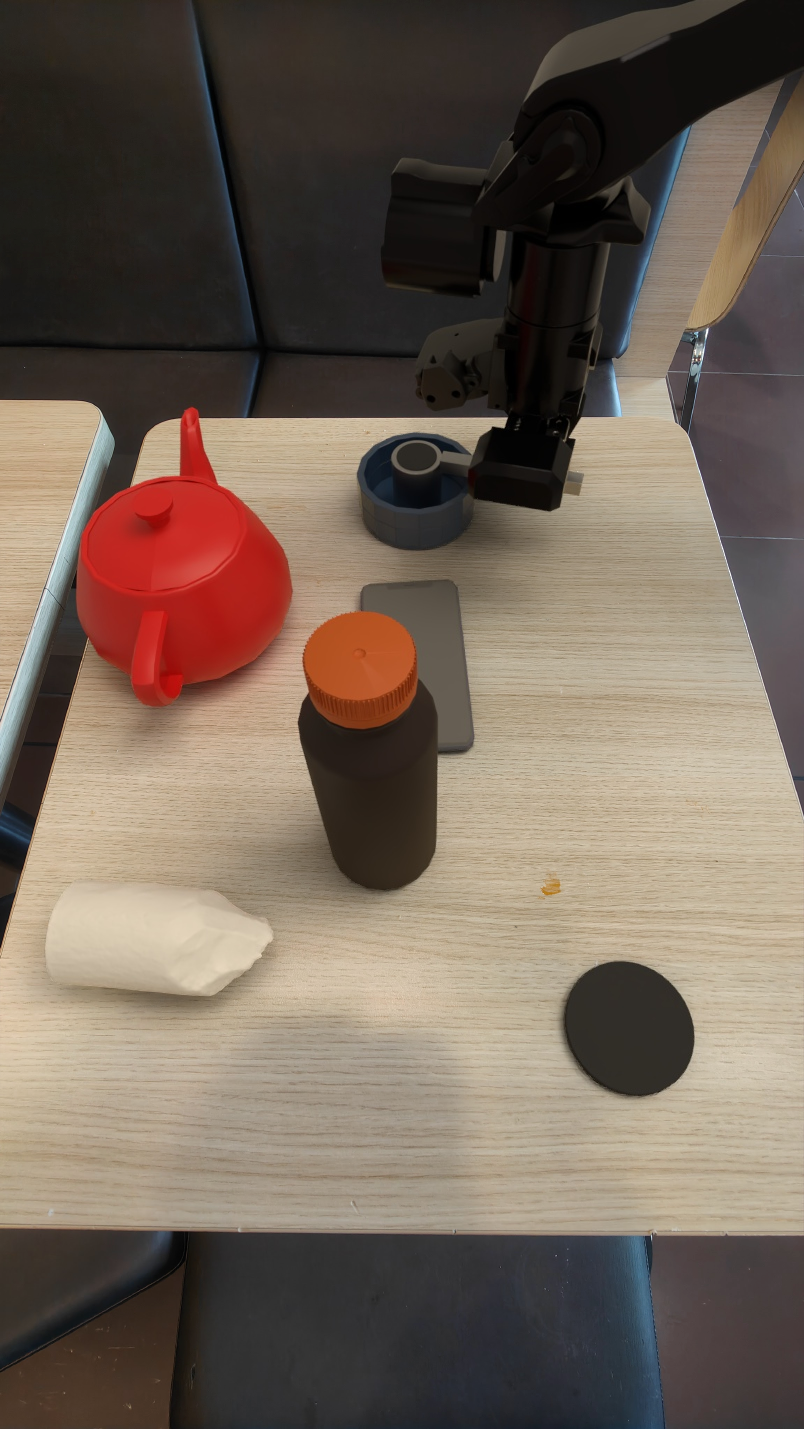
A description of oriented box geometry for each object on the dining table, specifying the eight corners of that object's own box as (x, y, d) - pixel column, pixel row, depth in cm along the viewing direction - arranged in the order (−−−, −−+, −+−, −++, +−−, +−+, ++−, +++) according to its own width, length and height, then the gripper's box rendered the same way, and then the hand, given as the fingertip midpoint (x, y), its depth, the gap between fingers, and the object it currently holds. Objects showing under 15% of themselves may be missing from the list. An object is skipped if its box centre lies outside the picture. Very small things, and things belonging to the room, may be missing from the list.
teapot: (287, 750, 54) (254, 642, 44) (64, 754, 54) (-21, 648, 44) (309, 498, 67) (288, 370, 57) (130, 503, 68) (77, 376, 57)
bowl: (458, 462, 69) (459, 424, 66) (488, 538, 64) (491, 501, 61) (351, 481, 68) (347, 443, 65) (373, 559, 63) (370, 523, 60)
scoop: (575, 514, 65) (587, 461, 60) (567, 549, 63) (578, 496, 58) (401, 485, 67) (398, 431, 63) (388, 517, 65) (384, 464, 60)
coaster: (662, 951, 46) (664, 948, 45) (713, 1078, 42) (716, 1077, 42) (547, 978, 45) (548, 976, 45) (589, 1110, 42) (591, 1109, 41)
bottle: (456, 827, 50) (469, 634, 34) (397, 913, 48) (378, 749, 31) (371, 777, 53) (342, 571, 36) (309, 856, 50) (246, 673, 33)
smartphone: (364, 752, 53) (359, 582, 60) (365, 759, 53) (360, 590, 61) (476, 745, 53) (457, 576, 60) (475, 752, 53) (456, 585, 61)
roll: (273, 1012, 45) (254, 989, 40) (71, 994, 46) (29, 969, 41) (290, 910, 48) (275, 877, 43) (101, 895, 49) (65, 861, 44)
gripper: (461, 215, 55) (455, 408, 68) (386, 373, 45) (396, 562, 58) (622, 231, 53) (584, 427, 66) (578, 401, 43) (544, 590, 57)
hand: (527, 495), depth 62 cm, fingers closed on scoop
